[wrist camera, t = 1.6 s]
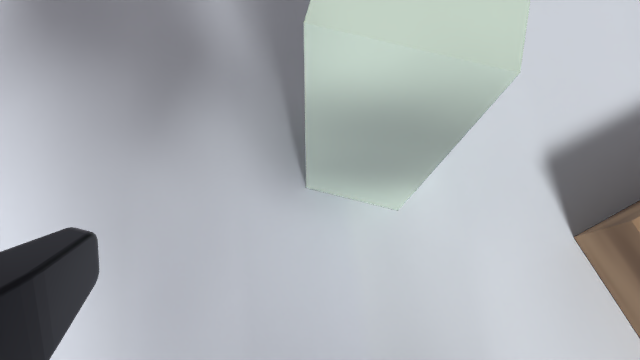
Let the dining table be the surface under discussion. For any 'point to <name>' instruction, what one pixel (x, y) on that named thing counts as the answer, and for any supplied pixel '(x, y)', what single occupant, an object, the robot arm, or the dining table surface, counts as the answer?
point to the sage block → (400, 87)
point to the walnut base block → (617, 258)
